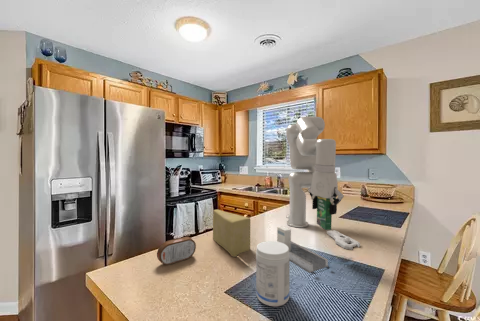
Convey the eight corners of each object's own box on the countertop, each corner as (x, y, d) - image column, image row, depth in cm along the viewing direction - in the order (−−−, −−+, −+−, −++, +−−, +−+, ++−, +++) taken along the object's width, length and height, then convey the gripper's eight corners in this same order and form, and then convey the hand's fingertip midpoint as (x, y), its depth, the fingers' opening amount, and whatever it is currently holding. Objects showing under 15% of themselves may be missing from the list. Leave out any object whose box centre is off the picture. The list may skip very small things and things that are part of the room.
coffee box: (315, 223, 95) (316, 193, 94) (322, 223, 95) (323, 193, 94) (324, 230, 87) (325, 197, 86) (331, 230, 87) (332, 197, 86)
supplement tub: (276, 284, 70) (277, 238, 69) (296, 302, 61) (297, 250, 61) (249, 292, 65) (250, 243, 65) (267, 312, 57) (267, 256, 57)
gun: (320, 229, 112) (336, 228, 115) (320, 236, 112) (336, 234, 115) (348, 245, 95) (366, 243, 98) (347, 253, 95) (365, 250, 98)
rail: (309, 275, 75) (309, 265, 75) (270, 251, 94) (270, 243, 94) (328, 268, 80) (328, 259, 80) (287, 246, 99) (288, 238, 99)
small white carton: (277, 247, 95) (277, 227, 95) (282, 246, 97) (283, 226, 97) (284, 252, 91) (284, 230, 91) (290, 250, 92) (290, 229, 92)
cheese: (205, 241, 104) (205, 210, 104) (222, 236, 110) (222, 207, 110) (233, 258, 87) (233, 221, 87) (251, 251, 93) (251, 217, 93)
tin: (193, 254, 91) (193, 234, 90) (197, 257, 88) (197, 236, 88) (156, 265, 81) (156, 243, 81) (159, 268, 79) (159, 245, 79)
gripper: (302, 167, 95) (301, 207, 96) (337, 171, 80) (336, 218, 81) (314, 167, 99) (313, 205, 100) (350, 170, 84) (349, 215, 85)
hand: (323, 211), depth 90 cm, fingers closed on coffee box, 8 cm apart
